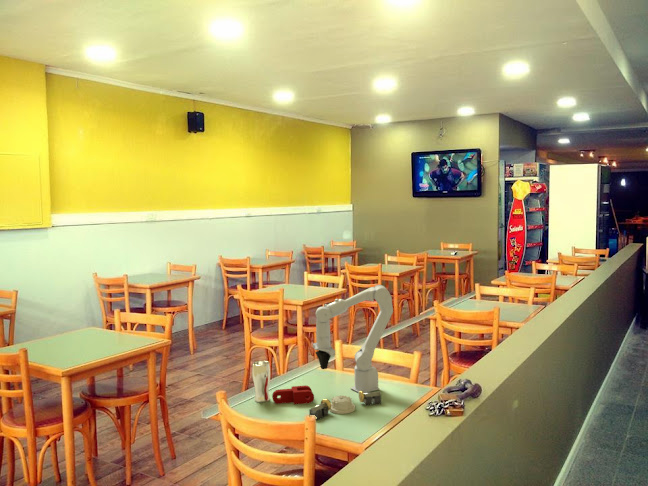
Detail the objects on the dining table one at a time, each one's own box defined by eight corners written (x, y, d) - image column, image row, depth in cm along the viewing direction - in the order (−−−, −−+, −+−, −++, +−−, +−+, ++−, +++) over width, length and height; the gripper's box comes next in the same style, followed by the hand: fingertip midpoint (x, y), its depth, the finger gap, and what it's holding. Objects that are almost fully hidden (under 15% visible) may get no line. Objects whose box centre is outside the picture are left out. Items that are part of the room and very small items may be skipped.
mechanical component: (326, 414, 218) (353, 415, 216) (326, 402, 217) (353, 403, 216) (331, 404, 228) (356, 405, 226) (330, 393, 227) (356, 394, 225)
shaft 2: (361, 406, 224) (361, 392, 224) (358, 402, 228) (358, 389, 228) (381, 404, 226) (381, 391, 225) (378, 400, 230) (378, 387, 229)
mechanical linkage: (311, 397, 236) (311, 385, 236) (314, 403, 229) (313, 390, 229) (271, 400, 233) (271, 388, 233) (273, 406, 226) (273, 394, 226)
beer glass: (274, 398, 235) (273, 361, 234) (265, 403, 229) (264, 366, 228) (259, 395, 238) (258, 359, 237) (250, 401, 232) (248, 364, 231)
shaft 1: (322, 411, 220) (322, 397, 220) (331, 413, 217) (331, 400, 217) (308, 417, 214) (308, 403, 213) (317, 420, 211) (317, 406, 211)
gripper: (306, 334, 245) (307, 365, 246) (324, 341, 232) (324, 374, 233) (320, 331, 248) (321, 363, 249) (339, 338, 236) (339, 371, 237)
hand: (324, 368), depth 242 cm, fingers closed
